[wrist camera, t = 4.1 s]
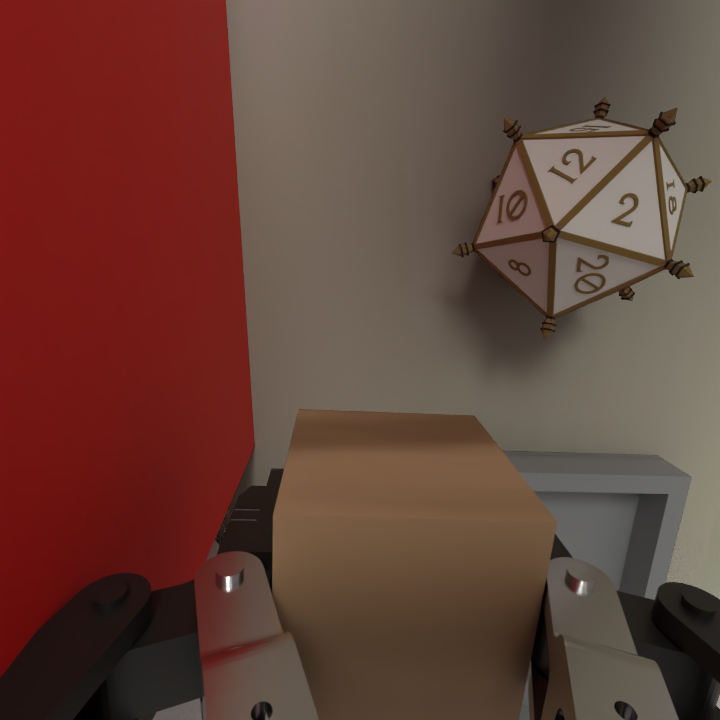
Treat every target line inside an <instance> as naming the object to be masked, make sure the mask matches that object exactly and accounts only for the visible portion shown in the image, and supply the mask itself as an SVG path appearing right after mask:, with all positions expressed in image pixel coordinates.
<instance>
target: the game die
mask: <svg viewBox="0 0 720 720" xmlns="http://www.w3.org/2000/svg"><path fill="white" fill-rule="evenodd" d="M610 105H611V104H608V102H607V100H606V98H605V97H604V98H603V99H602V100H601V101H600V102H599V103H598V104H597V105H595V106H594V107H595V111H594V112H593V113H594V114H595V118H594V119H590V120H585V121H581V122H576V123H572V124H568V125H563V126H559V127H554V128H550V129H546V130H541V131H537V132H532V133H528V134H524V135H523V134H521V131H520V128H521V126H518V124H517V122H518V121H517V120H516V121H513V120H509V119H505V118H504V131H503V132H504V133H507V137H509V138H512V139H513V141H514V143H513V145H512V147H511V150H510V152H509V155H508V157H507V160H506V162H505V165H504V167H503V170H502V172H501V175H500V176H499V175H498V176H497V177H496V178H493V179H492V181H493V187H494V188H495V189H494V192H493V194H492V197H491V199H490V202H489V204H488V207H487V209H486V212H485V214H484V216H483V219H482V221H481V224H480V226H479V229H478V231H477V234H476V236H475V239H474V241H473V243H471V244H466V243H465V244H463V245H461V244H459V246H458V247H457V248H456V249H455V250H454V252H453V254H456V255H459V256H462V257H463V256H464V255H469V253H471V252H476V253H477V254H478V255H479V256H480V257H481V258H482V259H483V260H485V261H486V262H487V263H488V264H489V265H490V266H491V267H492V268H493V269H494V270H495V271H497V272H498V273H499V274H500V275H501V276H502V277H503V278H504V279H505V280H506V281H508V282H509V283H510V284H511V285H512V286H513V287H514V288H515V289H516V290H517V291H519V292H520V293H521V294H522V295H523V296H524V297H525V298H526V299H527V300H528V301H529V302H531V303H532V304H533V305H534V306H535V307H536V308H537V309H538V310H539V311H540V312H542V313H543V314H544V315H545V316H546V319H545V321H544V322H543V323H542V324H543V326H542V328H540V330H542V333H543V336H544V338H545V339H546V338H547V337H548V336H549V335H550V334H551V333H552V332H555V330H554V326H556V325H555V322H554V320H555V318H557V317H559V316H561V315H564V314H566V313H568V312H571V311H573V310H576V309H578V308H580V307H583V306H585V305H587V304H590V303H592V302H594V301H597V300H599V299H602V298H604V297H606V296H609V295H611V294H613V293H616V292H618V291H619V292H620V293H619V296H621V299H622V300H630V301H632V300H633V296H634V294H635V293H634V292H633V291H632V289H631V288H630V287H629V286H631V285H633V284H635V283H637V282H639V281H642V280H644V279H646V278H648V277H650V276H652V275H654V274H656V273H658V272H660V271H662V270H664V269H667V270H669V273H670V274H671V275H672V276H673V275H675V276H676V277H677V278H678V279H680V278H685V277H694V276H693V274H692V271H691V269H690V267H689V265H690V264H689V263H688V264H684V263H683V261H679V262H678V261H673V260H672V256H673V252H674V247H675V243H676V238H677V234H678V229H679V225H680V221H681V216H682V212H683V207H684V203H685V198H686V194H687V193H688V192H693V193H696V192H697V191H701V192H703V190H704V188H705V187H706V186H707V185H708V184H709V183H710V182H711V180H707V179H704V178H702V176H700V177H699V178H698V179H695V178H694V179H692V180H691V181H690V182H689V183H685V182H684V180H683V178H682V177H681V175H680V173H679V171H678V170H677V168H676V166H675V164H674V163H673V161H672V159H671V157H670V156H669V154H668V152H667V150H666V148H665V147H664V145H663V143H662V141H661V140H660V138H659V135H660V134H661V133H663V132H666V131H668V130H669V127H670V126H671V125H675V124H676V123H675V117H676V112H677V108H675V109H672V110H669V111H667V112H664V113H663V112H661V113H660V115H659V118H658V119H655V120H654V123H653V127H652V128H651V129H649V130H648V129H644V128H640V127H636V126H632V125H628V124H624V123H620V122H616V121H612V120H608V119H604V116H606V115H607V113H608V111H609V110H608V109H609V107H610Z"/></svg>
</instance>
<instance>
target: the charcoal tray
mask: <svg viewBox="0 0 720 720" xmlns="http://www.w3.org/2000/svg"><path fill="white" fill-rule="evenodd" d="M502 452H503V453H504V454H505V455H506V457H507V458H508V459H509V461H510V462H511V463H512V464H513V466H514V467H515V468H516V469H517V471H518V472H519V473H520V475H521V476H522V477H523V478H524V480H525V481H526V482H527V484H528V485H529V486H530V487H531V489H532V490H533V491H534V492H535V494H536V495H537V496H538V498H539V499H540V500H541V501H542V503H543V504H544V505H545V507H546V508H547V509H548V510H549V512H550V513H551V514H552V516H553V517H554V518H555V519H556V521H557V526H556V531H555V534H556V535H557V537H558V538H559V539H560V541H561V542H562V543H563V545H564V546H565V547H566V549H567V550H568V552H569V553H570V554H571V556H572V557H573V558H575V559H579V560H582V561H585V562H587V563H589V564H591V565H593V566H595V567H597V568H598V569H600V570H601V571H603V572H604V573H605V574H606V575H607V576H608V577H609V578H610V579H611V581H612V582H613V583H614V586H615V588H616V590H617V591H621V592H624V593H628V594H632V595H636V596H640V597H645V598H649V599H653V600H655V597H656V594H657V590H658V588H659V586H660V585H662V584H664V583H665V582H666V578H667V574H668V570H669V566H670V562H671V558H672V554H673V550H674V546H675V542H676V538H677V534H678V530H679V526H680V522H681V518H682V514H683V509H684V505H685V501H686V497H687V493H688V489H689V485H690V481H691V476H689V475H688V474H686V473H685V472H683V471H681V470H680V469H678V468H677V467H675V466H673V465H672V464H670V463H669V462H667V461H666V460H664V459H662V458H661V457H659V456H658V455H628V454H593V453H558V452H523V451H502ZM519 720H530V719H529V700H528V681H526V686H525V692H524V697H523V702H522V707H521V712H520V717H519Z"/></svg>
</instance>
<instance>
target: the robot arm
mask: <svg viewBox="0 0 720 720" xmlns="http://www.w3.org/2000/svg"><path fill="white" fill-rule="evenodd" d="M283 472H284V469H274V468H272V469H271V473H270V476H269V479H268V483H267V486H250V487H249V488H248V489H247V490H246V491H245V492H244V493H242V494H241V495H240V496H239V499H238V501H237V504H236V506H235V510H234V511H233V514H232V517H231V521H230V522H229V524H228V527H227V529H226V532H225V534H224V537H223V539H222V542H221V544H220V547H219V550H218V552H217V555H216V556H214V557H212V558H210V559H208V560H207V561H205V562H204V563H203V564H202V565H201V566H200V567H199V569H198V570H197V572H196V574H195V578H194V579H193V580H191V581H189V582H186V583H183V584H180V585H176V586H172V587H168V588H163V589H159V590H154V591H151V586H150V583H149V581H148V580H147V579H146V578H145V577H143V576H141V575H138V574H135V573H118V574H113V575H109V576H106V577H103V578H101V579H98V580H96V581H94V582H92V583H90V584H89V585H87V586H86V587H84V588H83V589H82V590H81V591H79V592H78V593H77V594H76V595H75V596H74V597H73V598H72V599H71V600H70V601H69V602H67V603H66V604H65V605H64V606H63V607H62V608H61V609H60V610H59V611H58V612H57V613H56V614H54V615H53V616H52V617H51V618H50V619H49V620H48V621H47V622H46V623H45V624H44V625H43V626H42V627H40V628H39V629H38V630H37V631H36V632H35V634H34V635H33V636H32V637H31V639H30V640H29V641H28V643H27V644H26V645H25V646H24V648H23V649H22V650H21V652H20V653H19V654H18V656H17V657H16V658H15V659H14V661H13V662H12V663H11V665H10V666H9V667H8V668H7V670H6V671H5V672H4V674H3V675H2V676H1V677H0V720H153V718H154V716H155V714H156V712H158V711H161V710H164V709H168V708H171V707H174V706H177V705H180V704H183V703H186V702H189V701H193V700H196V699H199V698H200V709H201V720H319V718H318V715H317V711H316V708H315V705H314V702H313V699H312V695H311V692H310V689H309V686H308V683H307V679H306V676H305V673H304V670H303V667H302V664H301V660H300V657H299V654H298V651H297V648H296V644H295V641H294V639H293V636H292V634H291V633H290V632H285V633H283V631H282V628H281V624H280V621H279V617H278V614H277V611H276V607H275V604H274V600H273V597H272V562H273V513H274V509H275V504H276V500H277V496H278V492H279V488H280V484H281V480H282V476H283ZM527 681H528V700H529V719H530V720H720V709H719V708H718V707H717V706H716V703H717V701H718V698H719V695H720V600H719V599H718V598H716V597H715V596H713V595H711V594H710V593H708V592H706V591H704V590H701V589H699V588H697V587H694V586H691V585H687V584H683V583H677V582H669V583H664V584H662V585H660V586H659V588H658V590H657V594H656V597H655V600H653V599H649V598H645V597H640V596H636V595H632V594H628V593H624V592H621V591H617V590H616V588H615V586H614V583H613V582H612V581H611V579H610V578H609V577H608V576H607V575H606V574H605V573H604V572H603V571H601V570H600V569H598V568H597V567H595V566H593V565H591V564H589V563H587V562H585V561H582V560H579V559H575V558H573V557H572V556H571V554H570V553H569V552H568V550H567V549H566V547H565V546H564V545H563V543H562V542H561V541H560V539H559V538H558V537H557V535H556V534H555V536H554V542H553V547H552V552H551V557H550V562H549V568H548V573H547V578H546V583H545V588H544V593H543V599H542V604H541V609H540V614H539V619H538V624H537V630H536V635H535V640H534V645H533V650H532V655H531V661H530V666H529V671H528V676H527Z"/></svg>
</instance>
